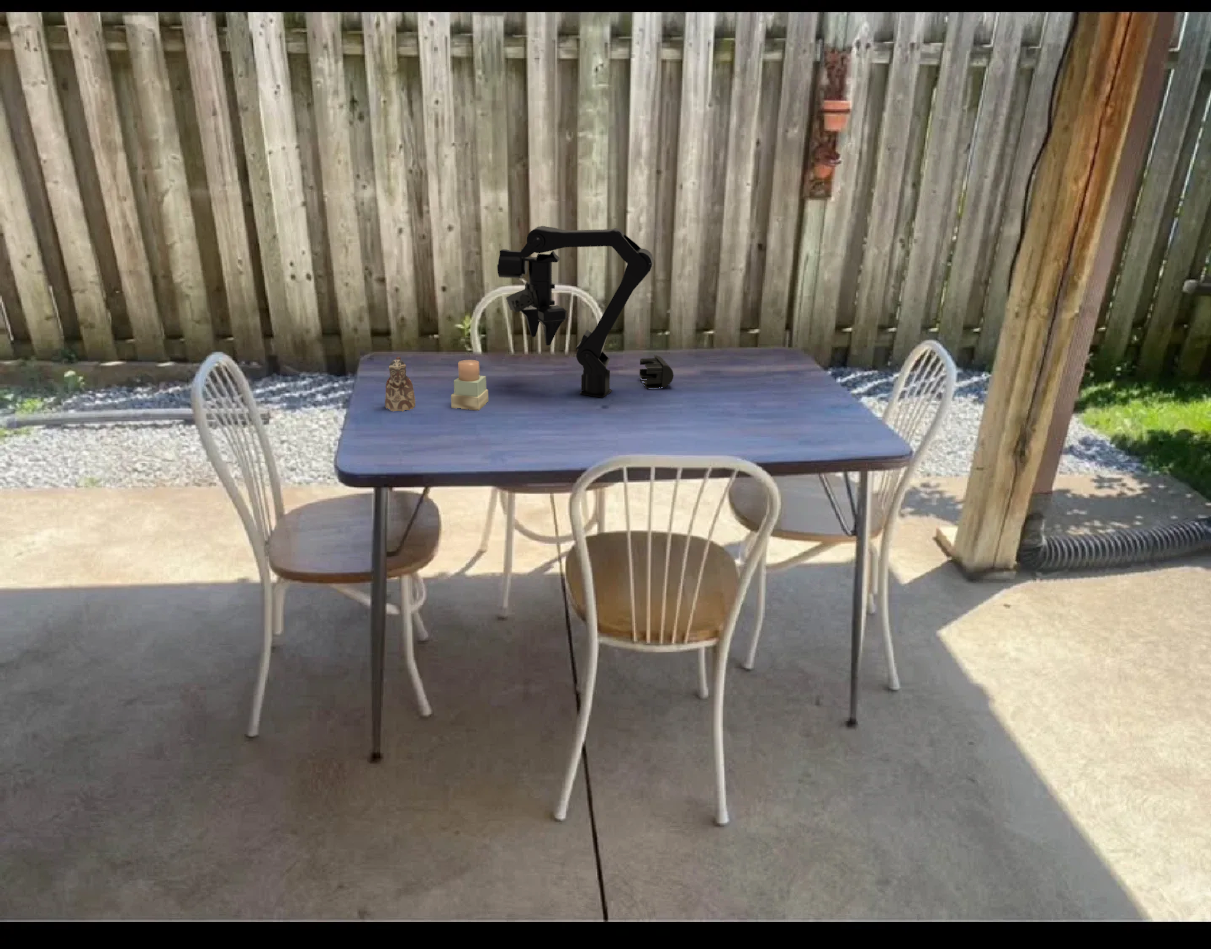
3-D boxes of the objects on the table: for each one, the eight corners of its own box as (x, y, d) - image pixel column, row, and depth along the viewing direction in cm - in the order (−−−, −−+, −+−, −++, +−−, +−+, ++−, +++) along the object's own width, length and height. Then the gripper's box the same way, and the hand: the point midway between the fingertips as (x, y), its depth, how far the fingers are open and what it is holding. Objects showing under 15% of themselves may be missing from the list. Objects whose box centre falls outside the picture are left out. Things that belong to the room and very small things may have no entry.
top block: (486, 389, 216) (485, 376, 215) (477, 396, 211) (477, 382, 210) (463, 387, 218) (462, 373, 216) (454, 394, 212) (453, 380, 211)
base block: (488, 402, 218) (488, 389, 217) (478, 411, 212) (478, 397, 210) (461, 400, 219) (461, 386, 218) (451, 408, 213) (450, 395, 212)
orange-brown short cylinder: (483, 377, 214) (483, 361, 212) (471, 382, 210) (471, 366, 208) (466, 374, 216) (466, 358, 214) (454, 379, 212) (454, 363, 210)
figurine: (382, 411, 209) (378, 362, 205) (389, 401, 216) (386, 354, 211) (411, 412, 209) (408, 363, 205) (418, 402, 216) (415, 355, 211)
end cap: (672, 389, 232) (674, 364, 229) (646, 390, 230) (648, 365, 228) (664, 378, 241) (665, 354, 238) (638, 379, 239) (639, 355, 237)
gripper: (496, 274, 221) (497, 335, 227) (525, 288, 206) (525, 353, 212) (536, 272, 226) (536, 331, 232) (567, 285, 211) (567, 348, 217)
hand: (540, 340), depth 223 cm, fingers open, 9 cm apart
